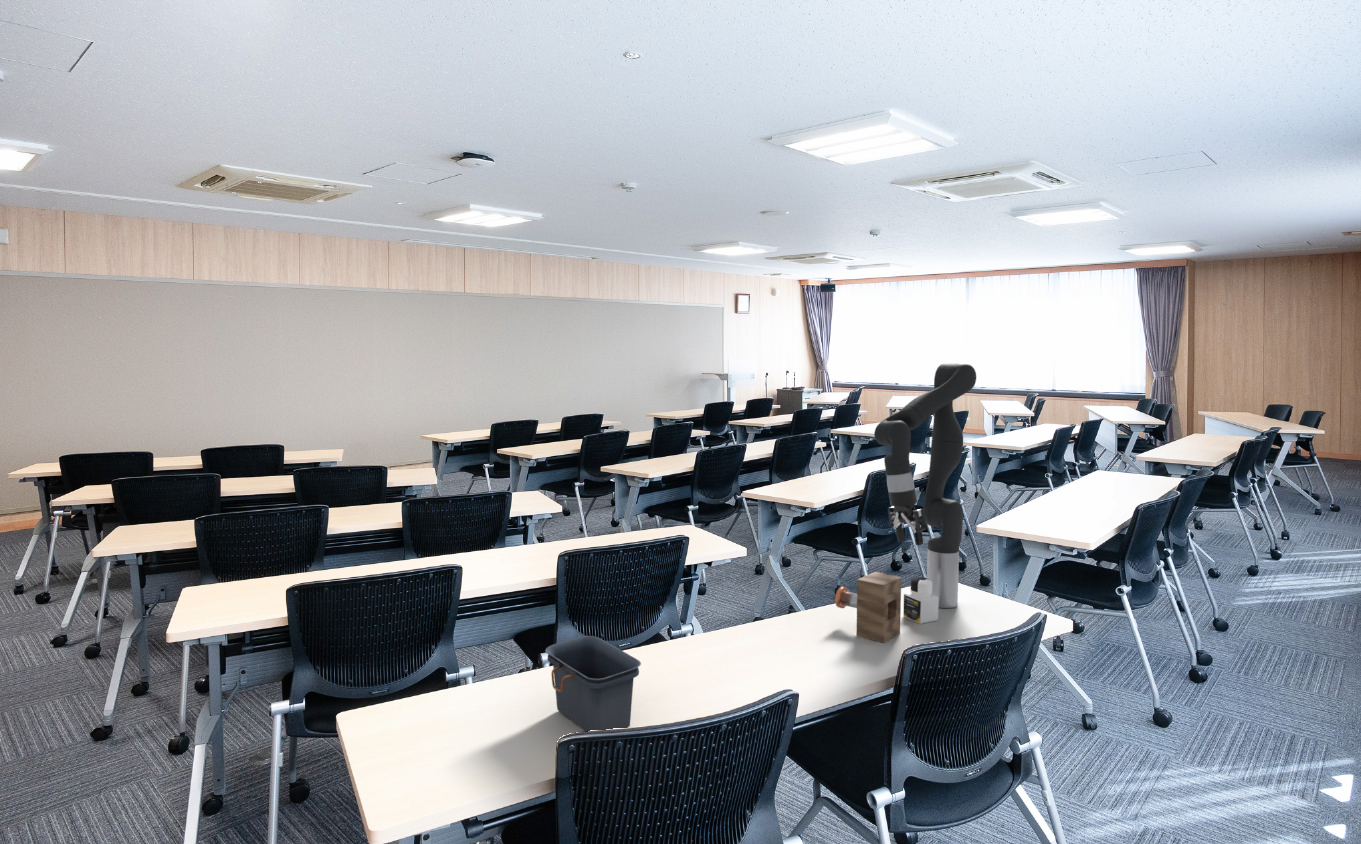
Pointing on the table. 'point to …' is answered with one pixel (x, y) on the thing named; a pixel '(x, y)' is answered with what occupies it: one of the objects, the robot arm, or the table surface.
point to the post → (878, 606)
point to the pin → (845, 598)
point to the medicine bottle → (921, 602)
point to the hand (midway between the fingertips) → (910, 543)
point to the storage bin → (593, 682)
